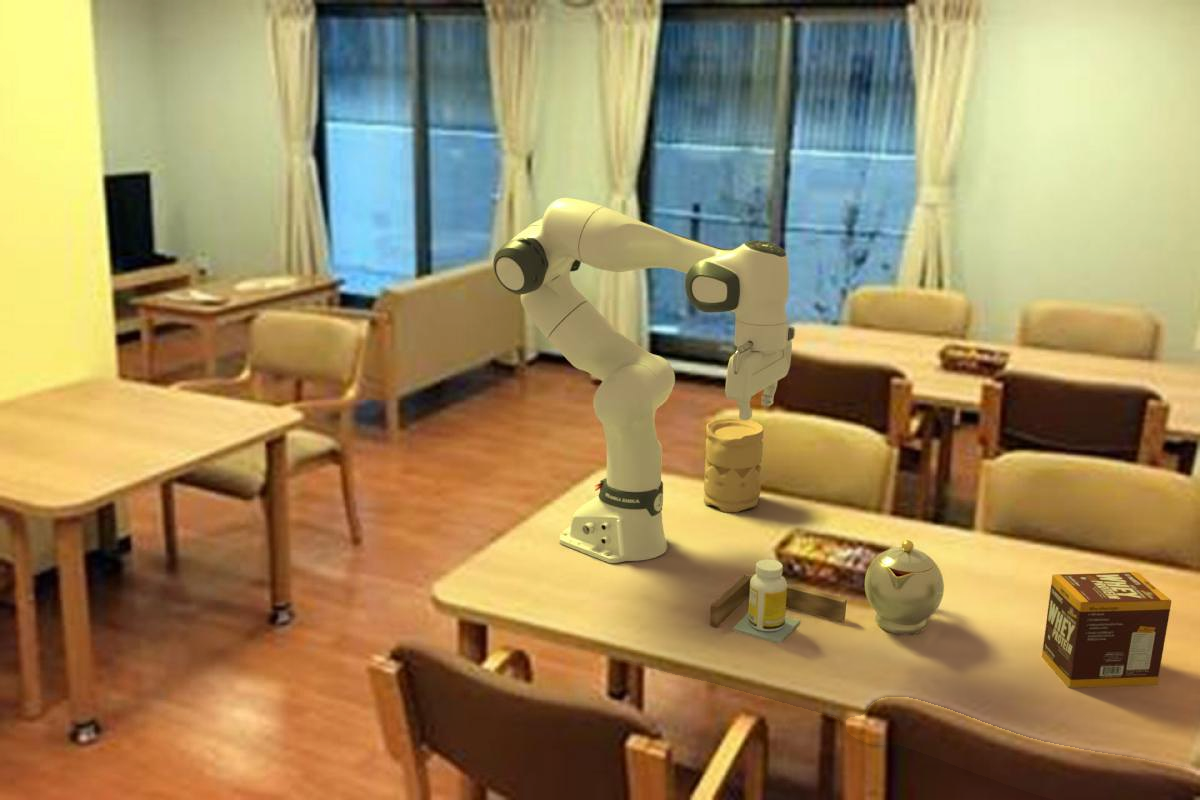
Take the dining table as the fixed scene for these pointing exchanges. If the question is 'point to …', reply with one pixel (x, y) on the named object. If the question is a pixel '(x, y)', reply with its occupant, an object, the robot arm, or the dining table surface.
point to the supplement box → (1105, 629)
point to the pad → (767, 635)
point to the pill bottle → (767, 596)
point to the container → (733, 464)
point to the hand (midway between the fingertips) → (756, 412)
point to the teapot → (903, 589)
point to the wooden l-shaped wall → (795, 600)
